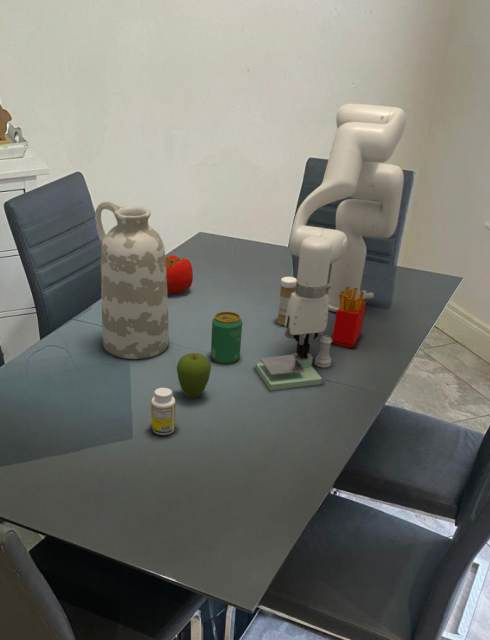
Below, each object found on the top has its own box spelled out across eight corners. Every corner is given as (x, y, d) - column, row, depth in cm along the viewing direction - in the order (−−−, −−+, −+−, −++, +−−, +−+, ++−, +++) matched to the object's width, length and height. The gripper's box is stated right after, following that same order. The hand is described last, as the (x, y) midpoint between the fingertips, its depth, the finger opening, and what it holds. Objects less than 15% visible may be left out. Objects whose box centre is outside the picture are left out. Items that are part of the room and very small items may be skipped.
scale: (306, 362, 201) (308, 351, 199) (324, 384, 192) (326, 372, 190) (254, 368, 199) (255, 356, 196) (270, 390, 189) (271, 378, 187)
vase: (179, 337, 213) (180, 199, 189) (151, 365, 200) (149, 220, 176) (116, 325, 220) (111, 190, 196) (86, 351, 207) (76, 210, 183)
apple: (198, 407, 183) (200, 365, 175) (169, 398, 186) (170, 356, 179) (215, 392, 188) (217, 351, 181) (187, 384, 192) (188, 343, 185)
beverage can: (223, 348, 208) (226, 308, 200) (245, 358, 203) (248, 316, 196) (204, 358, 203) (206, 316, 196) (226, 367, 199) (228, 325, 191)
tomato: (199, 288, 242) (200, 256, 236) (178, 301, 234) (179, 269, 227) (164, 279, 248) (164, 248, 242) (143, 292, 239) (142, 260, 233)
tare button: (304, 359, 199) (305, 353, 197) (307, 363, 197) (308, 357, 195) (295, 360, 198) (295, 354, 197) (298, 364, 196) (299, 358, 195)
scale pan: (291, 356, 197) (292, 354, 196) (304, 371, 190) (304, 370, 190) (259, 359, 195) (260, 358, 195) (271, 375, 188) (271, 374, 188)
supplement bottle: (161, 421, 178) (161, 383, 171) (179, 428, 175) (180, 390, 169) (146, 430, 174) (146, 392, 168) (164, 438, 172) (164, 400, 165)
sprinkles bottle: (295, 323, 221) (300, 279, 212) (283, 327, 219) (288, 283, 210) (285, 318, 224) (289, 274, 215) (273, 321, 222) (277, 278, 213)
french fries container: (329, 344, 210) (336, 296, 201) (337, 331, 217) (344, 285, 208) (353, 348, 208) (362, 301, 199) (361, 335, 214) (369, 289, 206)
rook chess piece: (332, 362, 201) (336, 334, 196) (329, 369, 198) (333, 341, 193) (315, 359, 202) (319, 332, 198) (312, 367, 199) (316, 339, 194)
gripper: (332, 281, 189) (322, 347, 200) (277, 286, 186) (270, 353, 198) (344, 292, 183) (334, 359, 195) (288, 297, 181) (280, 365, 192)
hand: (302, 356), depth 196 cm, fingers closed
